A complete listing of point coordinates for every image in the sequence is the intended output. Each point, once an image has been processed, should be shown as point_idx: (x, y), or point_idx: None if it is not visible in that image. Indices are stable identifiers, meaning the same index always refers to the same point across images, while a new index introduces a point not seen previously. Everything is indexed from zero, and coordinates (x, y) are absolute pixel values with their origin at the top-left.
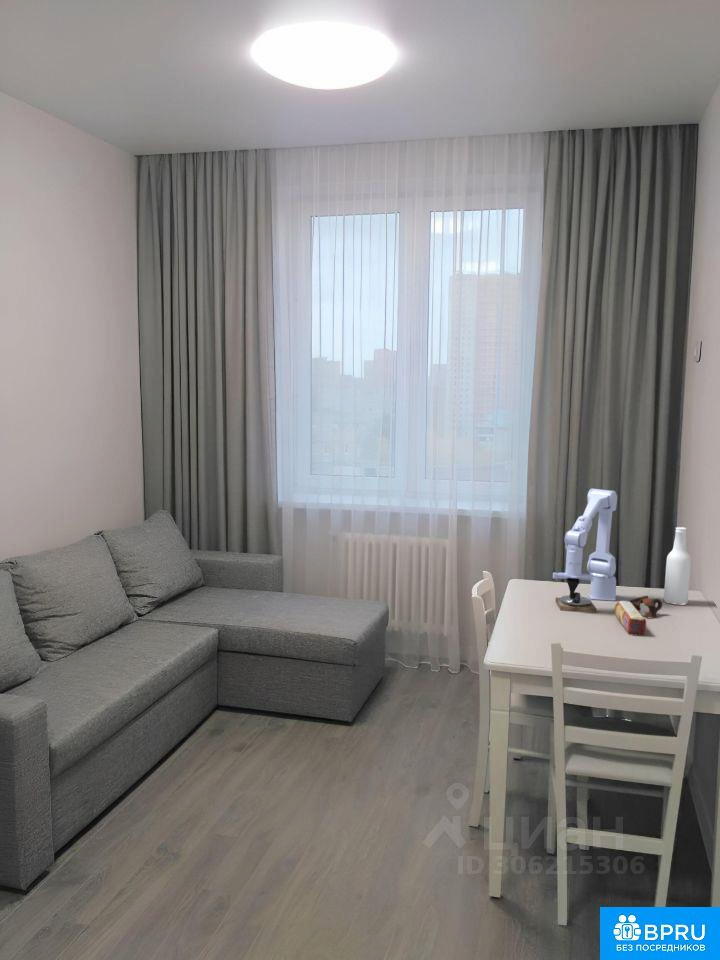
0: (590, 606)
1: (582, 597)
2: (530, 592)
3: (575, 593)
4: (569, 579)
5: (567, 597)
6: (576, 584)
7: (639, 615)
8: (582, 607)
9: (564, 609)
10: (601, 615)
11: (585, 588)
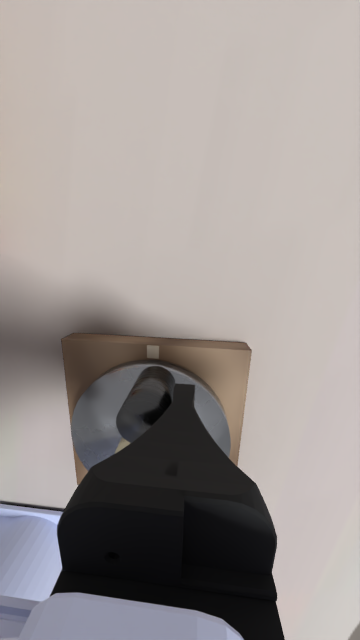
0: (87, 371)
1: None
2: (304, 585)
3: (155, 412)
4: (234, 612)
5: None
6: (129, 462)
7: None
8: (131, 346)
9: (226, 343)
10: (53, 283)
11: None
